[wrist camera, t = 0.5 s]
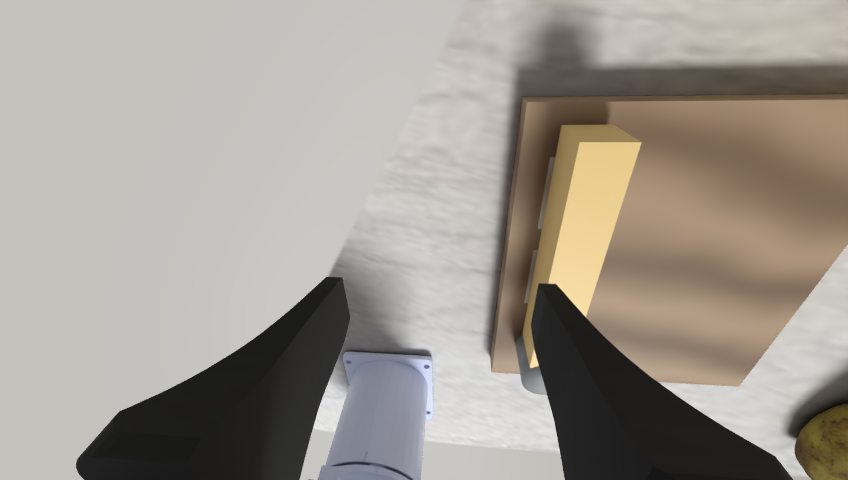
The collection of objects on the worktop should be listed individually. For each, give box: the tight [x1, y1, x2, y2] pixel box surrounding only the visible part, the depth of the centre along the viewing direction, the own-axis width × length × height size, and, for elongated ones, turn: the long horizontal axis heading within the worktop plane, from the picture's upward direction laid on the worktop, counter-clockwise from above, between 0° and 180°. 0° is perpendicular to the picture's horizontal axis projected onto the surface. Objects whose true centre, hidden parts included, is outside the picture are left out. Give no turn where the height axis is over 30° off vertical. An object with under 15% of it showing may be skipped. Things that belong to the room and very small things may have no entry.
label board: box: [490, 94, 848, 387], centre depth 22 cm, size 21×19×2 cm
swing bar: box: [515, 125, 642, 395], centre depth 20 cm, size 18×3×3 cm, turn 1°
